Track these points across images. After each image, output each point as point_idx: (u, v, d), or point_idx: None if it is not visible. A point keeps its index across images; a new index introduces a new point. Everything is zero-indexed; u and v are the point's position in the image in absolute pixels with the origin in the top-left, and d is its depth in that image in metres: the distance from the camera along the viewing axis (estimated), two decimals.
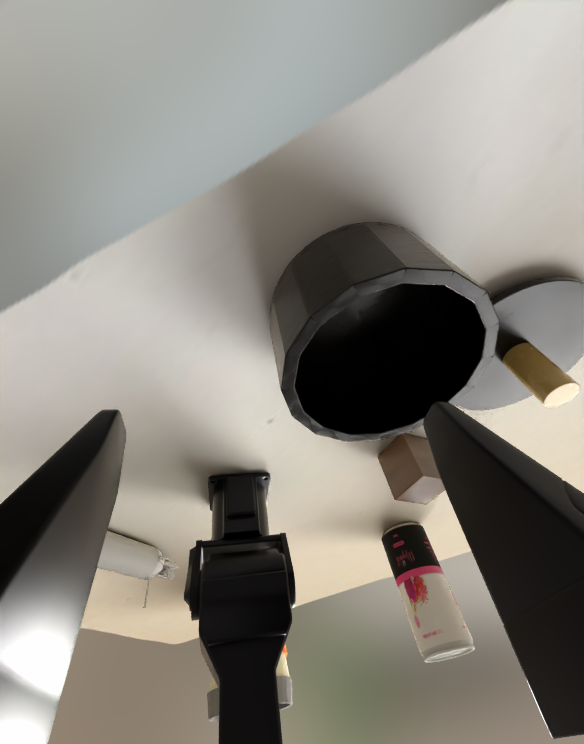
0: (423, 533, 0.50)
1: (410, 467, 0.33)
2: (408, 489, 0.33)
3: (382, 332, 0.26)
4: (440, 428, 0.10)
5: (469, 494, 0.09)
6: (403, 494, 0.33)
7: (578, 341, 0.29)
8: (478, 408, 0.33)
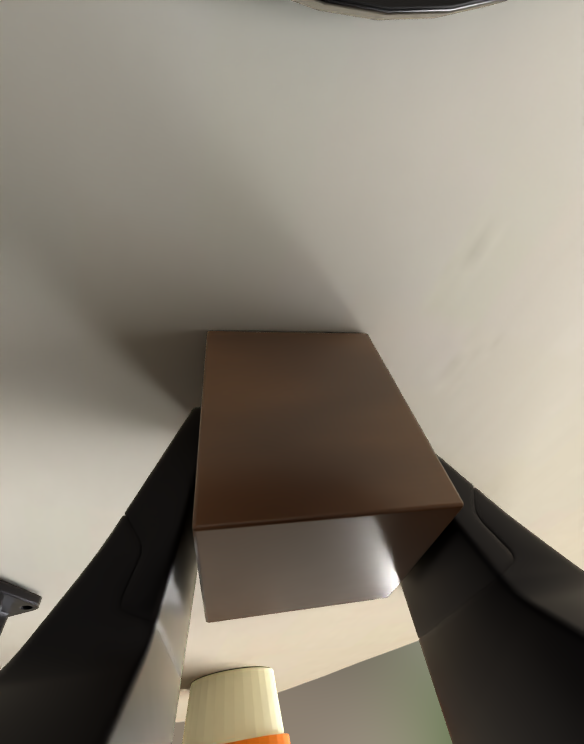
0: None
1: None
2: (206, 589, 0.06)
3: None
4: None
5: None
6: (212, 605, 0.07)
7: None
8: None
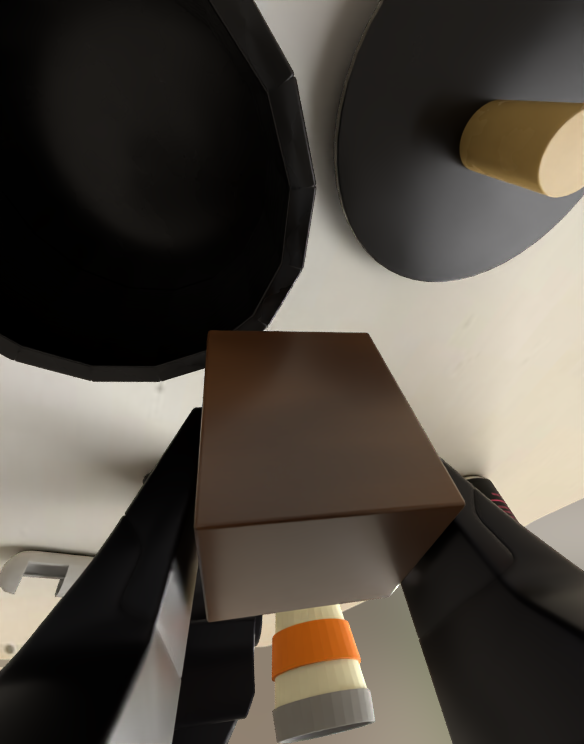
0: (488, 488, 0.35)
1: None
2: (207, 588, 0.06)
3: (204, 187, 0.15)
4: None
5: None
6: (212, 604, 0.07)
7: None
8: (467, 274, 0.19)
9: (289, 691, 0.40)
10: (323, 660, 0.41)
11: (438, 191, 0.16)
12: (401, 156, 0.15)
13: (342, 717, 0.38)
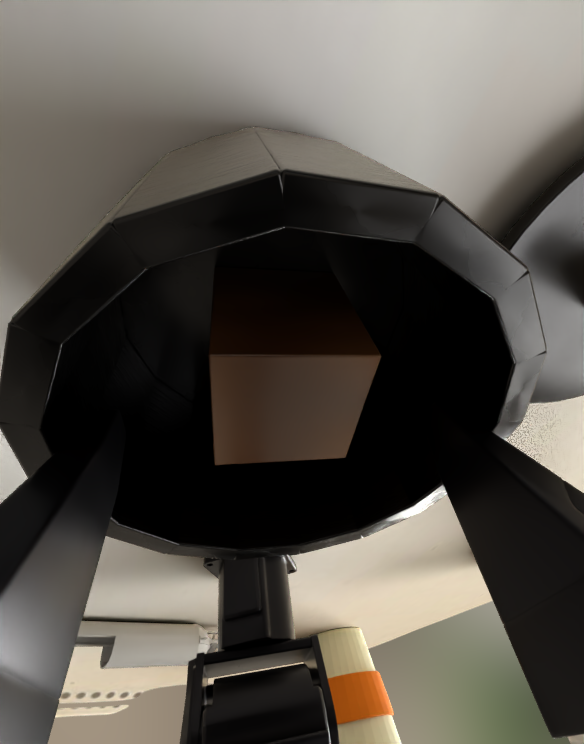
0: None
1: None
2: (215, 421, 0.09)
3: None
4: (440, 428, 0.10)
5: (469, 494, 0.09)
6: (218, 442, 0.10)
7: None
8: (570, 396, 0.19)
9: None
10: (360, 719, 0.41)
11: (564, 334, 0.16)
12: (538, 309, 0.14)
13: None
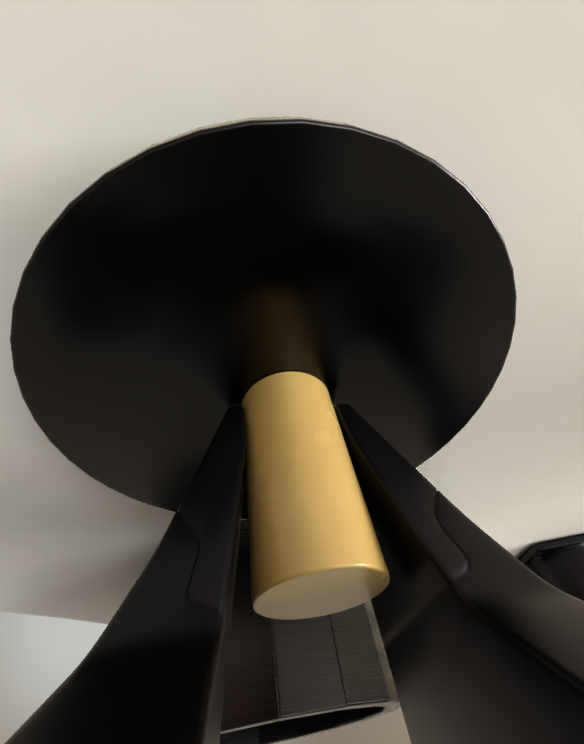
0: None
1: None
2: None
3: None
4: None
5: None
6: None
7: (191, 235, 0.07)
8: (490, 379, 0.11)
9: None
10: None
11: None
12: None
13: None
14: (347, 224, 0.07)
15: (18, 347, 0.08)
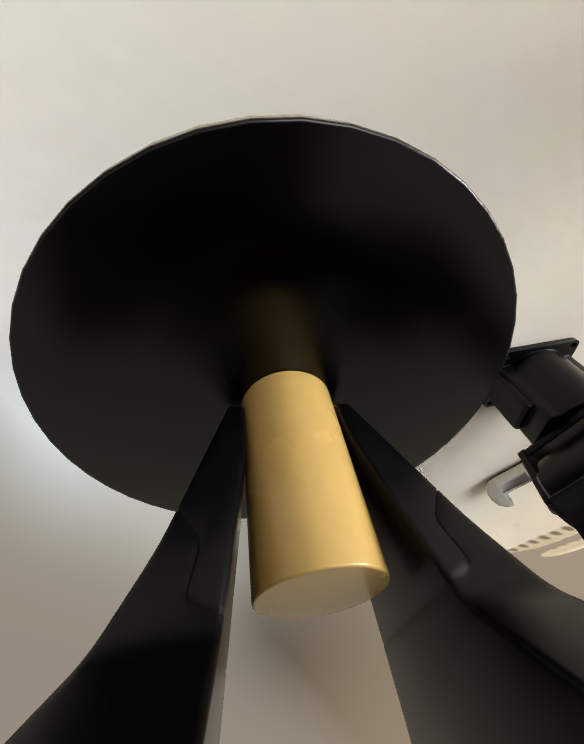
0: None
1: None
2: None
3: None
4: None
5: None
6: None
7: (190, 233, 0.07)
8: (491, 379, 0.11)
9: None
10: None
11: None
12: None
13: None
14: (347, 223, 0.07)
15: (17, 346, 0.08)
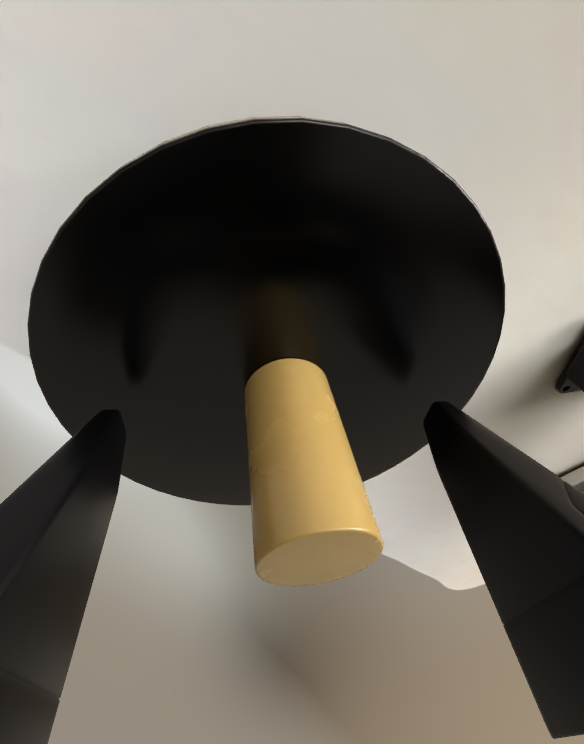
0: None
1: None
2: None
3: None
4: (440, 428, 0.10)
5: (469, 494, 0.09)
6: None
7: (198, 226, 0.07)
8: (482, 368, 0.11)
9: None
10: None
11: None
12: None
13: None
14: (344, 216, 0.07)
15: (35, 333, 0.08)
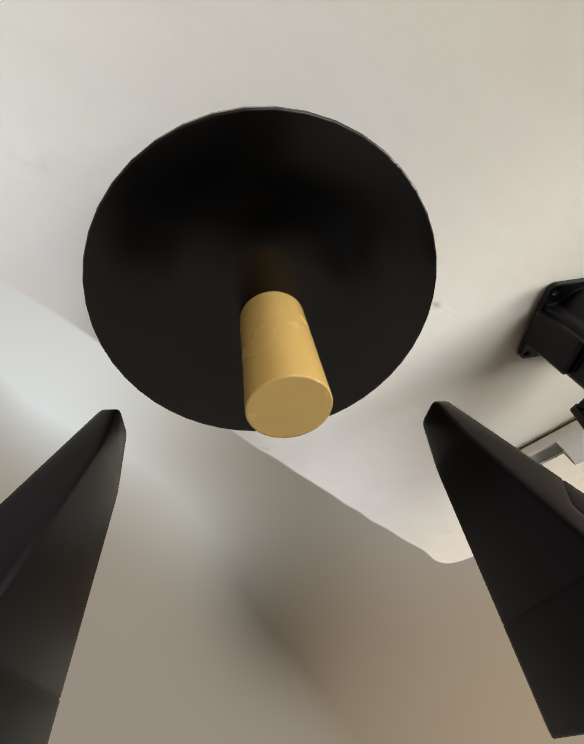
0: None
1: None
2: None
3: None
4: (440, 428, 0.10)
5: (469, 494, 0.09)
6: None
7: (206, 183, 0.10)
8: (425, 305, 0.14)
9: None
10: None
11: None
12: None
13: None
14: (308, 177, 0.11)
15: (88, 263, 0.11)
